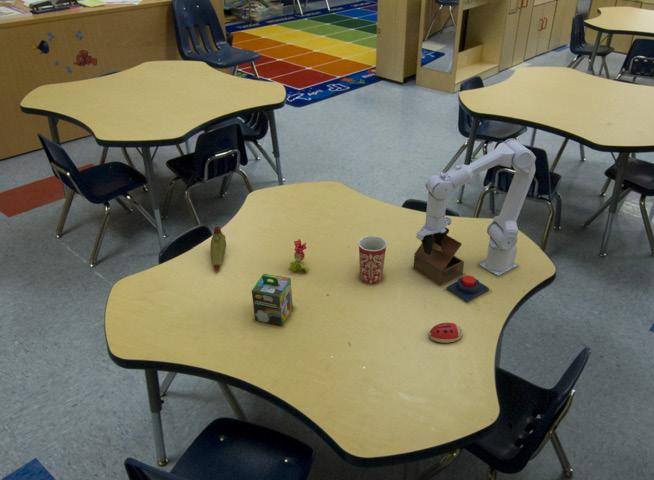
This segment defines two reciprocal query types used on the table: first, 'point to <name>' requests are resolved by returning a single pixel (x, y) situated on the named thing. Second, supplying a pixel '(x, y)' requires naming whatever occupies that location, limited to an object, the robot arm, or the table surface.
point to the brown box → (448, 274)
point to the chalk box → (272, 299)
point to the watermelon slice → (446, 332)
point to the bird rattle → (298, 256)
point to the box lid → (439, 253)
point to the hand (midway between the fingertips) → (431, 250)
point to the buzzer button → (468, 281)
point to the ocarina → (217, 248)
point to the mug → (371, 258)
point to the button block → (467, 290)
